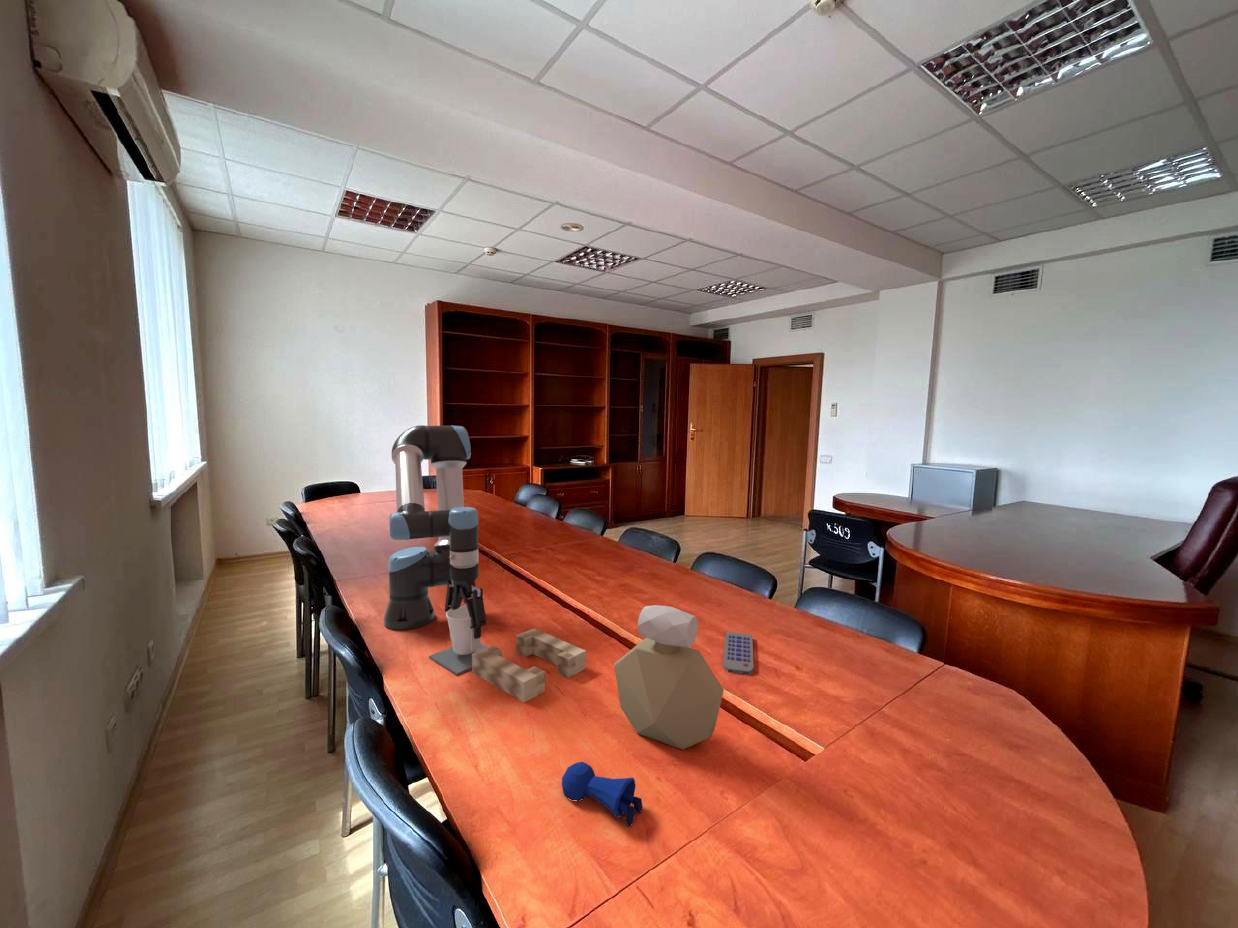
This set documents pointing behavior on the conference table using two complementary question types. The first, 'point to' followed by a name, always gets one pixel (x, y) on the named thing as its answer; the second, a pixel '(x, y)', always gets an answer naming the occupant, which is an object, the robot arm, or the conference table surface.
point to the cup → (460, 629)
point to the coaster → (454, 660)
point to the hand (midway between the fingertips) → (465, 643)
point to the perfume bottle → (668, 680)
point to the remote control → (738, 653)
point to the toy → (602, 790)
